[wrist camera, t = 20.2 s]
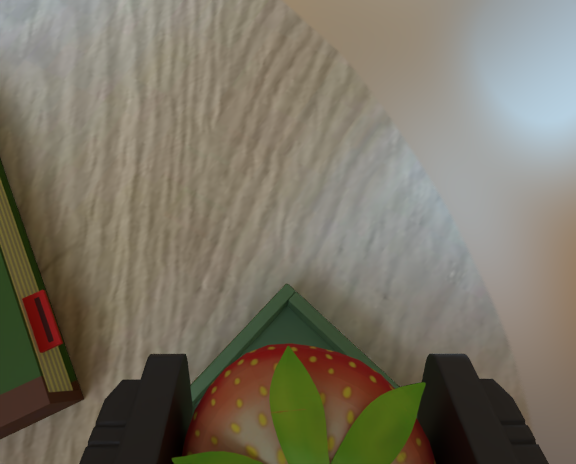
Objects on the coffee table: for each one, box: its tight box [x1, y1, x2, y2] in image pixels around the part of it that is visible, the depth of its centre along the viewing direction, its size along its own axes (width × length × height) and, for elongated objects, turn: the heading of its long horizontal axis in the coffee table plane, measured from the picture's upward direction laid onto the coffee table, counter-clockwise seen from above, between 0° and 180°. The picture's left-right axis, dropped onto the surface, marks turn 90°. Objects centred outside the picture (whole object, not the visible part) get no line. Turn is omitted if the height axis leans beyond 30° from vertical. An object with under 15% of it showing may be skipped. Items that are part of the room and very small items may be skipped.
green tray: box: [190, 284, 418, 420], centre depth 23 cm, size 9×9×3 cm
